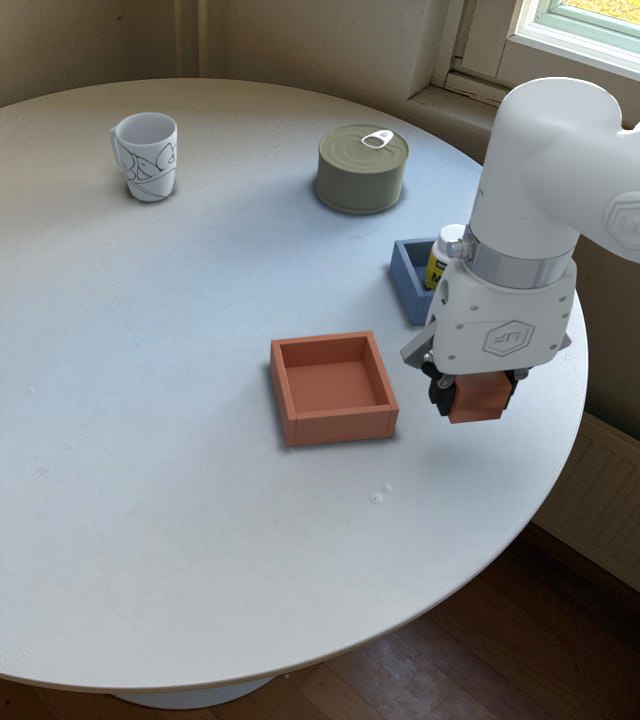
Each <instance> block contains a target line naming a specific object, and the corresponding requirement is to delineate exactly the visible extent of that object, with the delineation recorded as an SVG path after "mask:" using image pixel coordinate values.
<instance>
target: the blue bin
mask: <svg viewBox="0 0 640 720" xmlns="http://www.w3.org/2000/svg"><path fill="white" fill-rule="evenodd" d="M438 237H439V236H429V237H420V238H408V239H399V240H394V244H393V248H392V253H391V258H390V264H389V271H390V274H391V276H392V279H393V282H394V285H395V286H396V289H397V292H398V294H399V296H400V299H401V302H402V304H403V306H404V309H405V312H406V314H407V316H408V320H409V321H410V324H411V326H418V325H419V326H420V325H425V323H426V319H427V315H428V312H429V308H430V305H431V302H432V299H433V296H434V293H435V291H427V292H425V291H424V289H423V280H424V277H425V273H426V269H427V265H428V261H429V257H430V254H431V249H432V246H433V244H434V243H435V242H436V241H437V240H438Z"/></svg>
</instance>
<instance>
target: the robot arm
mask: <svg viewBox="0 0 640 720" xmlns="http://www.w3.org/2000/svg"><path fill="white" fill-rule="evenodd" d="M622 122H623V116H622V110H621V107H620V104H619V102H618V101H617V99H616V98H615V97H614V96H613V95H612V94H610V93H609V92H608V90H606V89H604V88H603V87H600V86H599V85H597V84H595V83H592V82H588V81H585V80H581V79H578V78H577V79H576V78H571V77H570V78H569V77H542V78H537V79H533V80H530V81H527V82H524V83H522V84H520V85H518V86H516V87H514V88H513V89H512V90H511V91H510V92H509V93H508V94H506V96H505V97H504V98H503V100H502V101H501V102H500V105H499V107H498V109H497V111H496V115H495V118H494V121H493V126H492V130H491V133H490V138H489V142H488V146H487V148H486V153H485V157H484V161H483V162H484V163H483V166H482V169H481V173H480V176H479V181H478V185H477V189H476V193H475V196H474V201H473V205H472V210H471V213H470V216H469V220H468V223H466V224H465V226H466V227H465V231H464V235H463V236H462V237H461V238H458V239H457V240H456V241H448V243H447V246H446V251H447V256H448V258H449V259H450V258H451V259H450V261H449V263H448V265H447V267H446V269H445V270H444V272H443V274H442V277H441V279H440V281H439V283H438V286H437V288H436V291H435V293H434V296H433V299H432V302H431V305H430V308H429V312H428V315H427V319H426V323H425V324H424V328H423V330H421V331H420V332H419V333H418V334H417V335H416V336H414V337H413V338H412V339H411V340H410V341H408V342H407V343H406V344H405V345H403V347H402V348H401V349H400V351H399V353H400V356H401V359H402V361H403V364H404V365H406V366H408V367H411V368H412V369H413V368H414V369H416V370H419V371H421V372H422V373H423V374H424V375H425V376H427V377H428V378H429V379H430V382H429V386H428V391H427V392H428V398H429V402H430V403H431V405H435V407H436V408H437V410H438V413H439V415H440V417H442V418H443V417H448V414H449V413H450V410H451V406H452V403H453V400H454V396H455V393H456V387H455V384H454V380H455V379H456V377H457V376H458V374H472V373H482V372H492V371H501V370H504V372H505V374H506V376H507V378H508V380H509V382H510V384H511V386H512V388H511V391H510V394H509V396H508V399H507V402H506V404H505V407H504V410H503V411H507V409H508V406H509V403H510V401H511V399H512V397H513V396H514V395H515V391H516V389H517V388H518V387H517V386H518V384H519V381H523V380H526V379H527V378H528V377H529V374H530V370H532V369H534V368H535V367H539V366H543V365H546V364H548V363H550V362H551V361H552V360H554V359H555V358H556V356H557V354H558V353H559V352H560V351H563V350H565V349H566V348H568V347H570V346H571V345H572V339H571V338H570V336H569V335H568V333H567V328H568V325H569V321H570V318H571V314H572V310H573V305H574V301H575V300H574V299H575V292H576V287H577V286H576V285H577V274H578V273H577V272H578V268H577V264H576V261H575V260H574V259H573V258H572V257H573V255H574V252H575V249H576V246H577V243H578V241H579V238H580V236H581V235H583V236H584V237H585V238H587V239H589V240H590V241H592V242H594V243H595V244H596V245H598V246H599V247H602V248H603V249H604V250H607V251H608V252H610V253H613V254H614V255H616V256H618V257H620V258H622V259H625V260H626V261H631V262H634V263H636V264H640V122H638V124H637V125H635V127H634V128H633V130H626V129H624V128H623V126H622ZM431 351H432V353H431Z"/></svg>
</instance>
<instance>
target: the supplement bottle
mask: <svg viewBox="0 0 640 720" xmlns="http://www.w3.org/2000/svg"><path fill="white" fill-rule="evenodd" d="M465 227H466V225H463V224H457V223H454V224H453V223H452V224H447V225H445V226H443V227H442V228H441V229H440V230H439V233H438V236H437V237H438V240H437V241H436V242H435V243H434V244H433V246H432V249H431V254H430V257H429V261H428V265H427V269H426V273H425V277H424V280H423V289H424V291H425V292H427V291H436V288H437V286H438V283H439V281H440V279H441V277H442V274H443V272H444V270H445V269H446V267H447V265H448V263H449V261H450V259H451V258H450V259H449V258H448V256H447V251H446V246H447V243H448V241H456V240H457V239H458V238H461V237H462V236H463V235H464V231H465Z"/></svg>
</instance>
